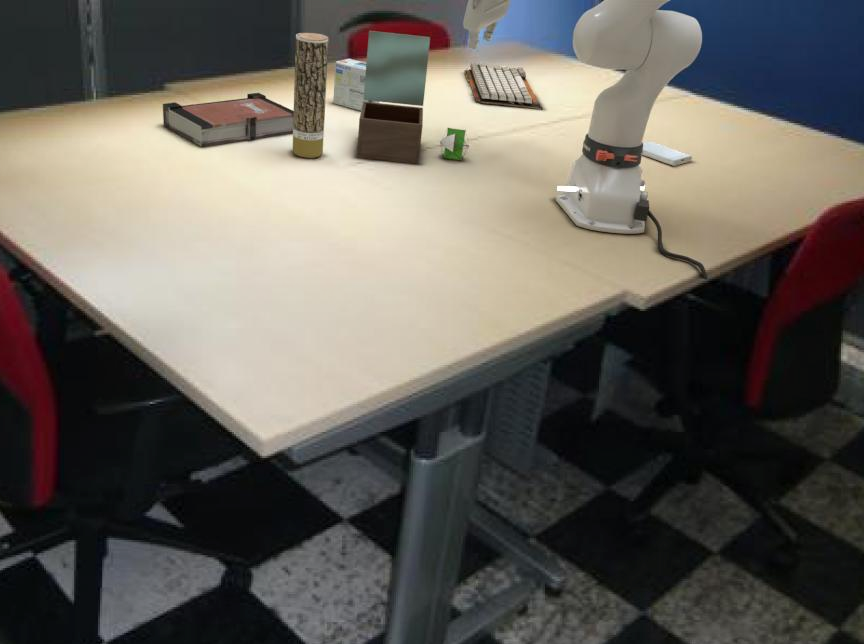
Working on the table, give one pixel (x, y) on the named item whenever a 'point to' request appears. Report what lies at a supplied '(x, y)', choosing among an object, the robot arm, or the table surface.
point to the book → (229, 120)
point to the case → (390, 132)
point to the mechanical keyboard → (501, 86)
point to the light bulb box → (350, 84)
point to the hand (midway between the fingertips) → (480, 43)
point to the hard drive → (665, 154)
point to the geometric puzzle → (454, 144)
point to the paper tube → (309, 94)
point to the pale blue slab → (396, 68)
